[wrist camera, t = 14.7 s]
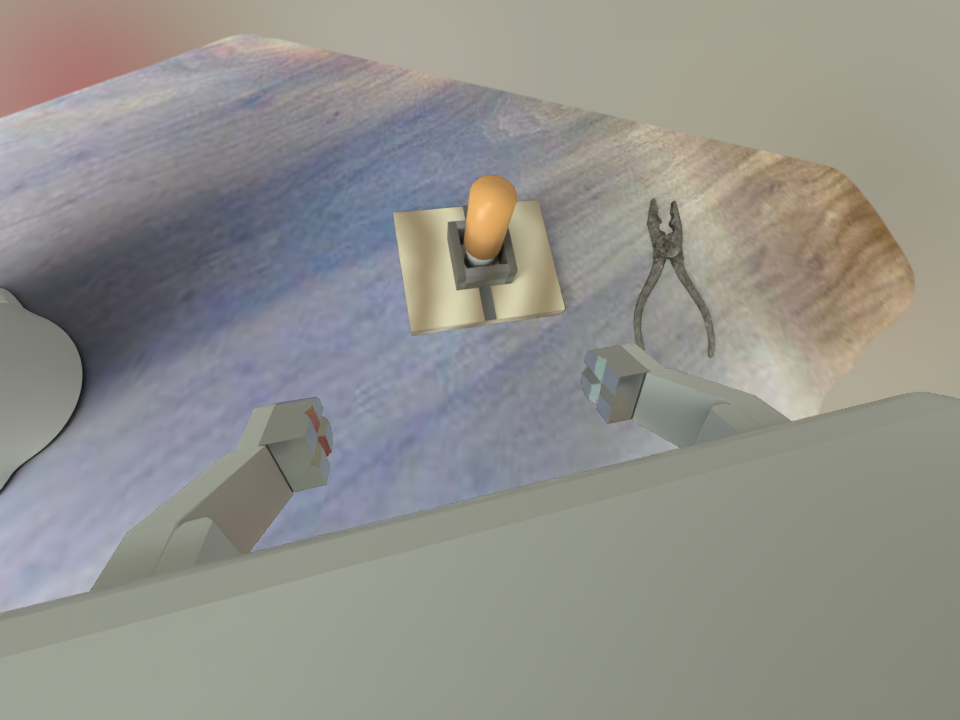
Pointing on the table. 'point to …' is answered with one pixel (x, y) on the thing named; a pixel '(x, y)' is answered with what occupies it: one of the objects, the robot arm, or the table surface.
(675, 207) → the pliers
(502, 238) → the orange rounded handle
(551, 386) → the table surface
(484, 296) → the cream rectangular base board
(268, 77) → the table surface
